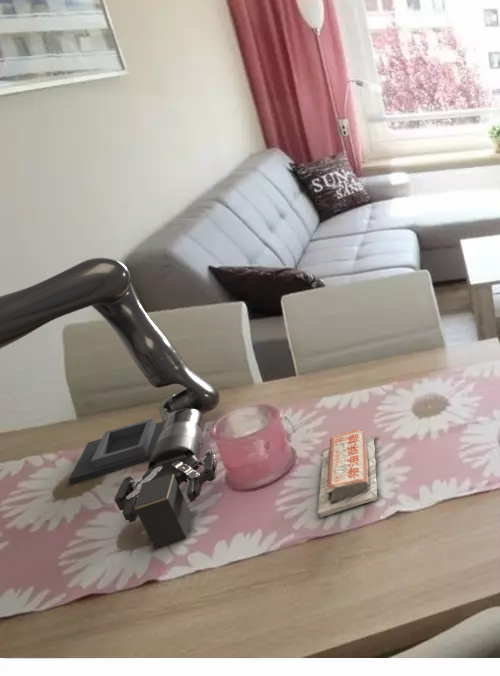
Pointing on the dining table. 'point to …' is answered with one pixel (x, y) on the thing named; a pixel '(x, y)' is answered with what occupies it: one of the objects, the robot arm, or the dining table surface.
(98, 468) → the base pad
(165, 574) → the dining table surface
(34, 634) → the dining table surface
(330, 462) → the packaged product
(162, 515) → the black box
